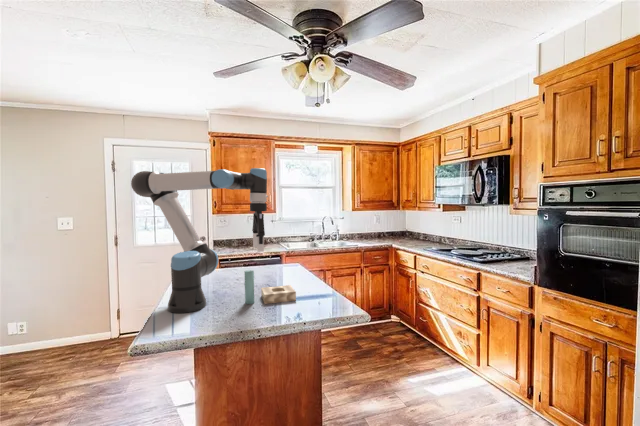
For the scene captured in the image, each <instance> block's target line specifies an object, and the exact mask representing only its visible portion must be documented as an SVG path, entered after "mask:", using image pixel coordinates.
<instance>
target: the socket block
mask: <svg viewBox="0 0 640 426" xmlns="http://www.w3.org/2000/svg"><path fill="white" fill-rule="evenodd" d="M260 289H261V298H262V301H263V303H264V305H266V304H275V303H286V302H287V303H288V302H295V301H297V291H296V290H295V289H294V288H293V286H292V285H291V284H288V285H280V286H279V285H278V286H265V287H261V288H260Z"/></svg>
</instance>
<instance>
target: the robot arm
mask: <svg viewBox="0 0 640 426" xmlns="http://www.w3.org/2000/svg"><path fill="white" fill-rule="evenodd" d="M249 170H250V171H249V172H235V171H231V170H228V169H223V168H222V169H216V170H205V171H204V170H203V171H190V172H189V171H188V172H187V171H186V172H184V171H183V172H168V173H167V172H166V173H164V172H158V171H148V170H143V171H142V170H141V171H139V172H137V173H135V174H134V175H133V176H132V179H131V183H130V184H131V185H130V186H131V188H132V190H133V192H134V193H135V194H136V195H138V196H139V197H143V198H150V199H151V201H152V203H153V205H154V206H158V207H159V208H160V210H161V212H162V213H163V215H164V217H165V219H166V221H167V222H168V225H169V226H170V228H171V230H172V231H173V234H174V235H175V237H176V239H177V241H178V243H179V244H180V246H181V248H182V250H183V251H180V252H177V253H175V254H173V255H172V257H171V259H170V261H171V262H170V270H171V271H170V273H171V276H170V277H171V294H170V296H169V300H168V304H167V311H168V312H170V313H173V314H186V313H193V312H197V311H200V310H202V309H204V308H205V307H206V306H207V299H206V296H205V294H204V292H203V288H202V277H205V276H208V275H210V274H212V273H213V272H214V271H215V270H216V269H217V268H218V265H219V262H220V261H219V256H218V253H217V252H216V251H215V250H213V249H211V248H209V246H208V244H207V242H203V241H202V240H201V238H200V236H199V235H198V233H197V232H196V229H195V227H194V226H193V225H192V222H191V220H190V219H189V217H188V216H187V215H188V214H187V213H186V212H185V210H184V208H183V207H182V204H181V203H180V201H179V199H178V197H179V192H178V191H195V190H213V189H215V190H217V189H227V190H234V191H235V190H249V202H250V203H249V212H253V213H252V214H253V219H252V247H253V248H257V249H256V252H264V251H265V250H264V248H265V234H266V233H265V220H264V215H265V214H264V213H262V212H267V209H268V207H267V206H268V204H267V203H266V202H267V201H268V200H267V198H269V195H267V193H268V192H267V191H268V172H267V170H266V168H261V167H259V168H258V167H252V168H249Z"/></svg>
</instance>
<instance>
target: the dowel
mask: <svg viewBox="0 0 640 426" xmlns="http://www.w3.org/2000/svg"><path fill="white" fill-rule="evenodd" d="M244 304H246V305H253V304H255V272H254V270H250V269H248V270H245V271H244Z"/></svg>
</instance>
